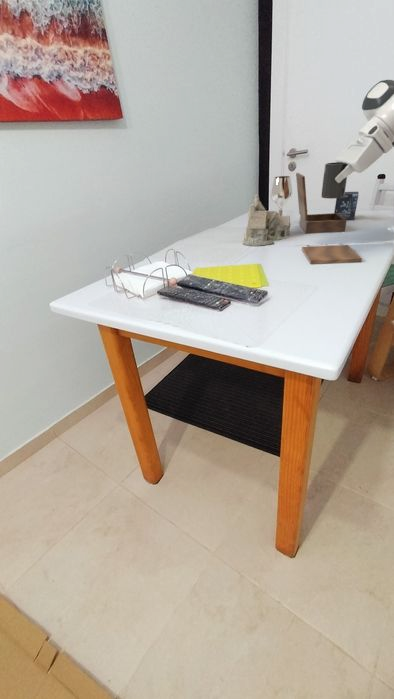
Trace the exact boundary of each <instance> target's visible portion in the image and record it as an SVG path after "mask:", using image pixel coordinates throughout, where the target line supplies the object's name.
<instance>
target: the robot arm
mask: <svg viewBox="0 0 394 699" xmlns="http://www.w3.org/2000/svg"><path fill="white" fill-rule="evenodd" d="M361 109H362V113H363V116H365V118H366V120H367V121H368V122H366V124H364V125H363V127H361V129H359V131H358V136H359V137H358V138H356V139H354V140H353V141H351V143H349V145H348V146H346V148H344V149H342V151H341V152H340V153H339V154H338V155H337V156H336V158H335V159H334V161H335V162H341V163H344V164H345V163H346V164H348V165H347V166H346V167H345V169H344V170H343V171H342V172H341V173H340V174H338V175H337V176H336V177H335V178H334V179H335V181H336V182H338V183H340V182H341V181H342V180H343V179H344V178H346V177H347V178H348V177H349V176H351V174H353V173H359V174H361V173H363V172H364V171H366V170H368V169H369V167H371V166H372V165H373V164H375V162H376V161H378V159H380V158H381V157H382V156H383V154H387V153H389V152H390V151H391V150H392V149H393V148H394V80H393V79H383V80H380V81H379V82H377V83H376V84H374V85H373V86H372V87H371V88H370V90H368V92H367V93H366V94H365V96H364V98H363V101H362V104H361Z"/></svg>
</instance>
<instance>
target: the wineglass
mask: <svg viewBox="0 0 394 699" xmlns="http://www.w3.org/2000/svg"><path fill="white" fill-rule="evenodd" d="M292 195H293V184H292V180H291V176H289V175H281V176H275V177H273V181H272V185H271V189H270V198H271V200H272V201H273V202H274V203H275V205H277V206H278V208H279V209H282V208H283V206H284V205H285V204H287V202H289V201H290V199H291V198H292ZM279 209H278V210H279Z"/></svg>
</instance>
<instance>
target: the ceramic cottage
mask: <svg viewBox="0 0 394 699" xmlns="http://www.w3.org/2000/svg"><path fill="white" fill-rule="evenodd" d="M253 200H254V203H251V204H250V205H249V210H248V214H247V216H248V217H247V226H246V227H245V228H246V229H245V232H244V233H243V240H242V244H243V245H245V246H249V247H250V246H251V247H256V246H257V247H260V246H268V245H272V244H273V245H274V244H275V241H280V240H286V239H289V238H290V230H291V225H292V224H291V216H290V215H283V209H282V208H281V209H278V212H277V211H276V210H266V208H265V206H264V205H263V204H262V202H261V201H260V196H259V194H255V195H254V199H253Z"/></svg>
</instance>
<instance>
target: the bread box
mask: <svg viewBox="0 0 394 699" xmlns="http://www.w3.org/2000/svg"><path fill="white" fill-rule="evenodd" d="M307 215H308V221H305V220H304V219H303V217H302V216H301V215H300V214H299V228H300V229H301V230H302V231H303V233H304V234H305V235H307V234H328V233H329V234H330V233H345V231H346V226H347V220H346V219H344V218H343V217H342V216H340V215H339V214H337V213H334V212H331V213H315V214H307Z"/></svg>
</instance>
